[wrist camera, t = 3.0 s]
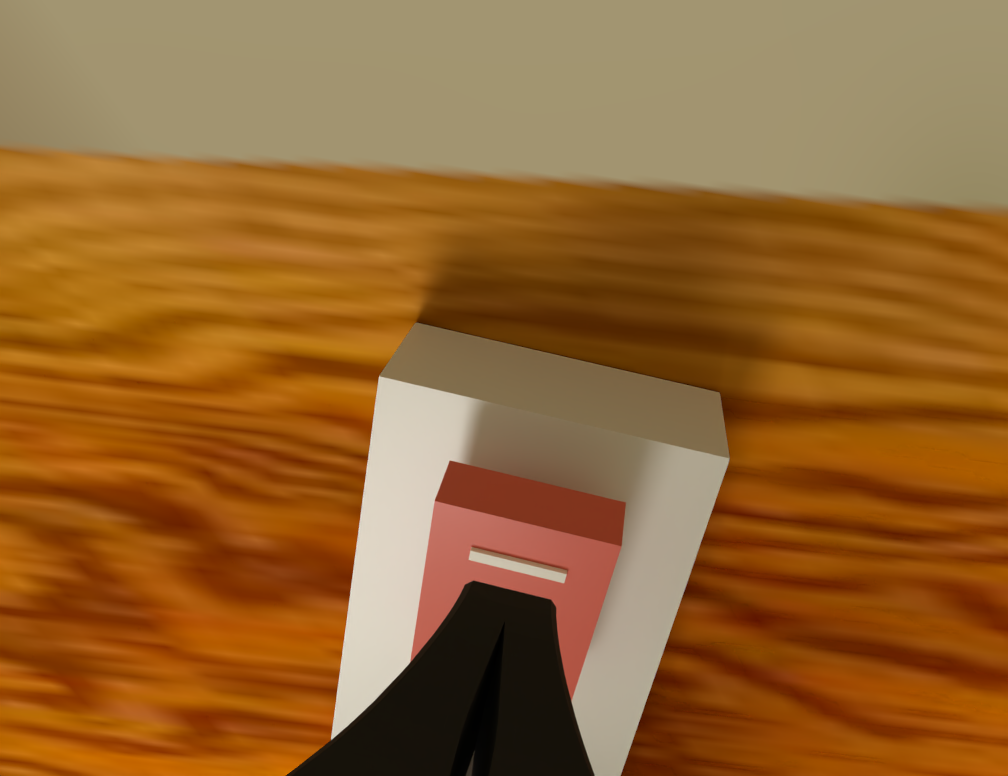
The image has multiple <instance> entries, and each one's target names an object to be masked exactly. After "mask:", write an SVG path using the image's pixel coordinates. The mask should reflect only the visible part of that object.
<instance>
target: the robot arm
mask: <svg viewBox="0 0 1008 776" xmlns="http://www.w3.org/2000/svg"><path fill="white" fill-rule="evenodd" d="M474 750H475V751H474ZM473 753H474V758H473V766H472V773H471V776H595V775H594V772H593V769H592V766H591V764H590V761H589V758H588V755H587V752H586V749H585V746H584V743H583V740H582V737H581V734H580V730H579V727H578V724H577V720H576V717H575V713H574V709H573V705H572V701H571V698H570V694H569V690H568V686H567V682H566V677H565V673H564V668H563V663H562V657H561V652H560V646H559V639H558V631H557V618H556V606H555V605H554V603H553V602H552V600H551V599H547V598H543V597H539V596H535V595H530V594H526V593H522V592H518V591H514V590H510V589H506V588H502V587H498V586H494V585H490V584H486V583H482V582H478V581H474V580H473V581H471V582H469V583H467V584H465V585H464V588H463V590H462V592H461V594H460V596H459V597H458V599H457V601H456V602H455V604H454V606H453V607H452V609H451V610H450V612H449V613H448V615H447V616H446V618H445V619H444V620H443V622H442V623H441V625H440V626H439V627H438V629H437V630H436V631H435V633H434V634H433V635H432V637H431V638H430V639H429V640H428V642H427V643H426V644H425V645H424V646H423V648H422V649H421V650H420V651H419V652H418V654H417V655H416V656H415V657H414V659H413V660H412V661H411V662H410V663H409V664H408V666H407V667H406V668H405V669H404V670H403V671H402V672H401V673H400V674H399V675H398V676H397V678H396V679H395V680H394V681H393V682H392V683H391V684H390V685H389V686H388V687H387V688H386V689H385V690H384V691H383V692H382V693H381V694H380V695H379V696H378V697H377V699H376V700H375V701H374V702H373V703H372V704H371V705H369V706H368V707H367V708H366V709H365V710H364V711H363V712H362V713H361V714H360V715H359V716H358V717H357V718H356V719H355V720H354V721H352V722H351V723H350V724H349V725H348V726H347V727H346V728H345V729H343V730H342V731H341V732H340V733H339V734H338V735H337V736H335V737H334V738H333V739H332V740H331V741H330V742H328V743H327V744H326V745H325V746H323V747H322V748H321V749H320V750H318V751H317V752H316V753H315V754H313V755H312V756H311V757H309V758H308V759H307V760H306V761H304V762H303V763H302V764H301V765H299V766H298V767H297V768H295V769H294V770H293V771H291V772H290V773H289V774H287V775H286V776H466V774H467V771H468V768H469V765H470V762H471V759H472V756H473Z"/></svg>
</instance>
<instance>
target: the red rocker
mask: <svg viewBox="0 0 1008 776" xmlns="http://www.w3.org/2000/svg"><path fill="white" fill-rule="evenodd" d="M625 507H626V502H622V501H618V500H613V499H609V498H605V497H601V496H597V495H593V494H588V493H584V492H580V491H576V490H572V489H568V488H563V487H559V486H555V485H551V484H547V483H543V482H538V481H534V480H530V479H526V478H522V477H517V476H513V475H509V474H505V473H501V472H497V471H492V470H488V469H484V468H480V467H476V466H472V465H467V464H463V463H459V462H455V461H451V460H450V461H449V464H448V466H447V469H446V472H445V474H444V477H443V480H442V482H441V485H440V488H439V491H438V493H437V496H436V499H435V502H434V508H433V515H432V521H431V528H430V535H429V541H428V548H427V554H426V561H425V568H424V574H423V581H422V587H421V594H420V601H419V607H418V614H417V620H416V627H415V634H414V640H413V647H412V653H411V660H410V662H411V661H412V660H413V659H414V657H415V656H416V655H417V654H418V652H419V651H420V650H421V649H422V648H423V646H424V645H425V644H426V643H427V642H428V640H429V639H430V638H431V637H432V635H433V634H434V633H435V631H436V630H437V629H438V627H439V626H440V625H441V623H442V622H443V620H444V619H445V618H446V616H447V615H448V613H449V612H450V610H451V609H452V607H453V606H454V604H455V602H456V601H457V599H458V597H459V596H460V594H461V592H462V590H463V588H464V585H465V584H467V583H469V582H471V581H473V580H474V581H478V582H482V583H486V584H490V585H494V586H498V587H502V588H506V589H510V590H514V591H518V592H522V593H526V594H530V595H535V596H539V597H543V598H547V599H551V600H552V602H553V603H554V605H555V606H556V618H557V631H558V639H559V646H560V652H561V657H562V663H563V668H564V673H565V677H566V682H567V686H568V690H569V694H570V698H571V701H572V698H573V695H574V692H575V689H576V686H577V683H578V680H579V677H580V674H581V670H582V667H583V664H584V661H585V658H586V655H587V652H588V649H589V646H590V643H591V640H592V636H593V633H594V630H595V627H596V624H597V621H598V618H599V615H600V612H601V609H602V606H603V602H604V599H605V596H606V593H607V590H608V587H609V584H610V581H611V578H612V575H613V572H614V568H615V565H616V562H617V559H618V556H619V553H620V550H621V547H622V537H623V527H624V517H625Z"/></svg>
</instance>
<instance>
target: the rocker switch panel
mask: <svg viewBox="0 0 1008 776" xmlns="http://www.w3.org/2000/svg"><path fill="white" fill-rule="evenodd" d="M450 460H451V461H455V462H459V463H463V464H467V465H472V466H476V467H480V468H484V469H488V470H492V471H497V472H501V473H505V474H509V475H513V476H517V477H522V478H526V479H530V480H534V481H538V482H543V483H547V484H551V485H555V486H559V487H563V488H568V489H572V490H576V491H580V492H584V493H588V494H593V495H597V496H601V497H605V498H609V499H613V500H618V501H622V502H626V507H625V517H624V527H623V537H622V547H621V550H620V553H619V556H618V559H617V562H616V565H615V568H614V572H613V575H612V578H611V581H610V584H609V587H608V590H607V593H606V596H605V599H604V602H603V606H602V609H601V612H600V615H599V618H598V621H597V624H596V627H595V630H594V633H593V636H592V640H591V643H590V646H589V649H588V652H587V655H586V658H585V661H584V664H583V667H582V670H581V674H580V677H579V680H578V683H577V686H576V689H575V692H574V695H573V698H572V705H573V709H574V713H575V717H576V720H577V724H578V727H579V730H580V734H581V737H582V740H583V743H584V746H585V749H586V752H587V755H588V758H589V761H590V764H591V766H592V769H593V772H594V775H595V776H621V773H622V770H623V767H624V764H625V761H626V759H627V756H628V753H629V750H630V747H631V744H632V741H633V738H634V735H635V732H636V730H637V727H638V724H639V721H640V718H641V715H642V712H643V709H644V706H645V703H646V701H647V698H648V695H649V692H650V689H651V686H652V683H653V680H654V677H655V674H656V672H657V669H658V666H659V663H660V660H661V657H662V654H663V651H664V648H665V645H666V643H667V640H668V637H669V634H670V631H671V628H672V625H673V622H674V619H675V616H676V614H677V611H678V608H679V605H680V602H681V599H682V596H683V593H684V590H685V587H686V585H687V582H688V579H689V576H690V573H691V570H692V567H693V564H694V561H695V558H696V556H697V553H698V550H699V547H700V544H701V541H702V538H703V535H704V532H705V529H706V527H707V524H708V521H709V518H710V515H711V512H712V509H713V506H714V503H715V500H716V497H717V495H718V492H719V489H720V486H721V483H722V480H723V477H724V474H725V471H726V468H727V466H728V463H729V460H730V456H729V450H728V443H727V436H726V430H725V423H724V417H723V410H722V404H721V397H720V392H716V391H711V390H707V389H703V388H698V387H694V386H690V385H685V384H681V383H677V382H672V381H668V380H664V379H659V378H655V377H651V376H646V375H642V374H638V373H633V372H629V371H625V370H620V369H616V368H611V367H607V366H603V365H598V364H594V363H590V362H585V361H581V360H577V359H572V358H568V357H564V356H559V355H555V354H551V353H546V352H542V351H538V350H533V349H529V348H525V347H520V346H516V345H512V344H507V343H503V342H499V341H494V340H490V339H486V338H481V337H477V336H473V335H468V334H464V333H460V332H455V331H451V330H447V329H442V328H438V327H434V326H429V325H425V324H421V323H415V324H414V325H413V327H412V328H411V330H410V331H409V333H408V334H407V336H406V337H405V339H404V340H403V342H402V343H401V345H400V346H399V348H398V349H397V351H396V352H395V353H394V355H393V356H392V358H391V359H390V361H389V362H388V364H387V365H386V367H385V368H384V370H383V371H382V373H381V374H380V376H379V380H378V388H377V395H376V403H375V410H374V418H373V426H372V433H371V441H370V448H369V456H368V463H367V471H366V479H365V486H364V494H363V501H362V509H361V516H360V524H359V532H358V539H357V547H356V554H355V562H354V569H353V577H352V584H351V592H350V600H349V607H348V615H347V622H346V630H345V637H344V645H343V653H342V660H341V668H340V675H339V683H338V690H337V698H336V706H335V713H334V721H333V728H332V736H331V740H332V739H333V738H334V737H335V736H337V735H338V734H339V733H340V732H341V731H342V730H343V729H345V728H346V727H347V726H348V725H349V724H350V723H351V722H352V721H354V720H355V719H356V718H357V717H358V716H359V715H360V714H361V713H362V712H363V711H364V710H365V709H366V708H367V707H368V706H369V705H371V704H372V703H373V702H374V701H375V700H376V699H377V697H378V696H379V695H380V694H381V693H382V692H383V691H384V690H385V689H386V688H387V687H388V686H389V685H390V684H391V683H392V682H393V681H394V680H395V679H396V678H397V676H398V675H399V674H400V673H401V672H402V671H403V670H404V669H405V668H406V667H407V666H408V664H409V663H410V660H411V653H412V647H413V640H414V634H415V627H416V620H417V614H418V607H419V601H420V594H421V587H422V581H423V574H424V568H425V561H426V554H427V548H428V541H429V535H430V528H431V521H432V515H433V508H434V502H435V499H436V496H437V493H438V491H439V488H440V485H441V482H442V480H443V477H444V474H445V472H446V469H447V466H448V464H449V461H450ZM474 751H475V750H474ZM473 754H474V753H473Z"/></svg>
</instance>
